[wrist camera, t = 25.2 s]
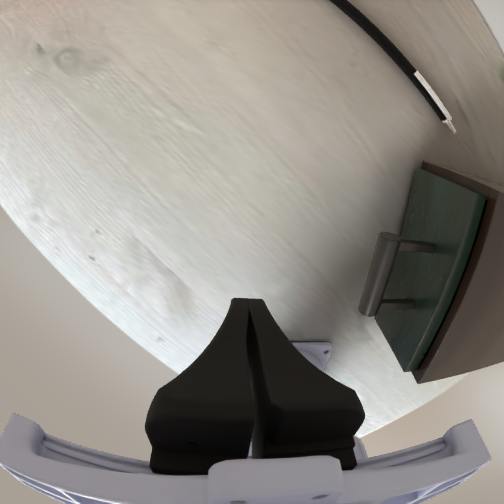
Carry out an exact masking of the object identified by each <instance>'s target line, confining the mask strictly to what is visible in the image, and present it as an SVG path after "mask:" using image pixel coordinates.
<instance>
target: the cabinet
mask: <svg viewBox="0 0 504 504" xmlns="http://www.w3.org/2000/svg"><path fill="white" fill-rule="evenodd" d="M421 169H424V170H428V171H430V172H433V173H435V174H438V175H440V176H442V177H445V178H447V179H450V180H452V181H454V182H457V183H459V184H461V185H463V186H466V187H468V188H470V189H472V190H474V191H476V192H478V193H481V194H483V195H485V196H486V200H488V201H487V205H486V209H485V213H484V216H483V220H482V224H481V227H480V230H479V234H478V237H477V240H476V243H475V246H474V249H473V252H472V255H471V258H470V261H469V264H468V266H467V269H466V272H465V274H464V277H463V280H462V282H461V285H460V287H459V289H458V292H457V294H456V297H455V299H454V301H453V303H452V306H451V308H450V310H449V312H448V314H447V317H446V319H445V321H444V323H443V325H442V327H441V329H440V331H439V333H438V335H437V337H436V339H435V341H434V343H433V345H432V346H431V348H430V350H429V352H428V354H427V352H426V354H425V356H424V357H423V359H422V361H421V363H420V364H419V366H418V368H417V370H416V371H411V372H412V374H413V376H414V378H415V380H416V382H417V384H421V383H425V382H430V381H435V380H439V379H444V378H448V377H452V376H456V375H460V374H464V373H467V372H471V371H474V370H478V369H481V368H485V367H488V366H491V365H494V364H497V363H500V362H503V361H504V186H501V185H499V184H496V183H493V182H491V181H488V180H485V179H482V178H479V177H476V176H473V175H470V174H467V173H464V172H461V171H457V170H454V169H451V168H447V167H444V166H440V165H437V164H433V163H430V162H426V161H423V163H422V168H421Z"/></svg>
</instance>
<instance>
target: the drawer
mask: <svg viewBox="0 0 504 504" xmlns="http://www.w3.org/2000/svg"><path fill="white" fill-rule="evenodd" d="M487 201H488V200H486V196H485V195H483V194H481V193H478V192H476V191H474V190H472V189H470V188H468V187H466V186H463V185H461V184H459V183H457V182H454V181H452V180H450V179H447V178H445V177H442V176H440V175H438V174H435V173H433V172H430V171H428V170H424V169H420V168H415V174H414V179H413V184H412V189H411V194H410V199H409V203H408V207H407V212H406V216H405V220H404V224H403V228H402V232H401V236H400V238H399V237H398V236H397V235H395V234H392V233H388V232H381V233H379V236H378V240H377V244H376V248H375V252H374V256H373V260H372V263H371V267H370V270H369V274H368V277H367V281H366V284H365V287H364V291H363V294H362V297H361V300H360V304H359V307H358V309H359V311H360V313H362V314H363V315H365V316H370V317H372V316H375V320H376V322H377V324H378V326H379V327H380V329H381V331H382V333H383V334H384V336H385V338H386V340H387V342H388V343H389V345H390V347H391V349H392V351H393V352H394V354H395V356H396V358H397V360H398V362H399V364H400V366H401V367H402V369H403V371H404V372H410V371H416V370H417V368H418V366H419V364H420V363H421V361H422V359H423V357H424V356H425V354H426V352H427V354H428V352H429V350H430V348H431V346H432V345H433V343H434V341H435V339H436V337H437V335H438V333H439V331H440V329H441V327H442V325H443V323H444V321H445V319H446V317H447V314H448V312H449V310H450V308H451V306H452V303H453V301H454V299H455V297H456V294H457V292H456V289H457V287H458V284H459V282H460V279H461V277H462V274H463V271H464V269H465V266H466V263H467V260H468V258H469V255H470V252H471V249H472V246H473V243H474V241H475V242H476V240H477V237H478V234H479V230H480V227H481V224H482V220H483V216H484V213H485V209H486V205H487Z"/></svg>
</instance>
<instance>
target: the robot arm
mask: <svg viewBox="0 0 504 504" xmlns="http://www.w3.org/2000/svg"><path fill="white" fill-rule="evenodd" d="M326 350H327V351H326ZM331 350H332V344H331V343H330V342H310V343H291V342H290V341H289V339H288V338H287V337H286V336H285V334H284V333H283V332H282V330H281V329H280V327H279V326H278V325H277V323H276V322H275V320H274V318H273V317H272V315H271V313H270V312H269V310H268V308H267V306H266V304H265V302H264V301H263V300H262V299H248V298H233V299H232V300H231V305H230V308H229V311H228V313H227V315H226V317H225V319H224V321H223V323H222V325H221V327H220V329H219V330H218V332H217V333H216V335H215V336H214V338H213V339H212V341H211V342H210V344H209V345H208V346H207V347H206V349H205V350H204V351H203V352H202V353H201V355H200V356H199V357H198V358H197V359H196V360H195V361H194V362H193V363H192V364H191V365H190V366H189V367H188V368H186V369H185V370H184V371H183V372H182V373H181V374H180V375H178V376H177V377H176V378H175V379H173V380H172V381H170V382H169V383H168V384H166V385H164V386H163V387H161V388H160V389H159V390H158V391H157V393H156V395H155V397H154V399H153V401H152V403H151V405H150V408H149V411H148V414H147V418H146V423H145V431H146V434H147V436H148V438H149V441H150V443H151V445H152V453H151V459H150V462H148V461H142V460H137V459H132V458H127V457H123V456H118V455H113V454H109V453H105V452H102V451H98V450H94V449H91V448H87V447H84V446H81V445H77V444H74V443H71V442H68V441H65V440H62V439H59V438H56V437H53V436H51V435H48V434H46V433H45V432H44V430H43V429H42V428H41V427H40V425H39V424H37V423H36V422H34V421H32V420H30V419H28V418H26V417H23V416H21V415H19V414H16V413H12V415H11V417H10V419H9V421H8V423H7V425H6V427H5V429H4V432H3V434H2V436H1V438H0V465H1V466H2V467H3V468H4V469H5V470H7V471H8V472H9V473H10V474H11V475H13V476H14V477H15V478H17V479H18V480H19V481H20V482H22V483H23V484H25V485H27V486H29V487H30V488H32V489H35V490H37V491H38V492H41V493H43V494H45V495H47V496H49V497H51V498H54V499H56V500H58V501H60V502H62V503H65V504H419V503H421V502H424V501H426V500H428V499H430V498H432V497H435V496H437V495H439V494H441V493H443V492H445V491H448V490H450V489H452V488H453V487H456V486H458V485H459V484H461V483H462V482H464V481H465V480H466V479H468V478H469V477H470V476H472V475H473V474H474V473H476V472H477V471H478V470H479V469H481V468H482V467H483V466H484V465H486V464H487V463H488V462H489V461H490V460H491V456H490V454H489V452H488V450H487V448H486V446H485V444H484V442H483V440H482V438H481V436H480V434H479V432H478V430H477V428H476V426H475V424H474V422H473V421H472V420H471V419H470V420H467V421H465V422H463V423H460V424H457V425H455V426H453V427H452V428H450V429H449V430H448V431H447V432H446V433H445V434H444V436H443V437H441V438H438V439H436V440H433V441H430V442H426V443H423V444H420V445H417V446H414V447H410V448H407V449H403V450H399V451H396V452H392V453H388V454H384V455H380V456H375V457H370V458H368V456H367V453H366V450H365V448H364V445H363V443H362V441H361V439H360V438H358V437H356V436H354V435H355V433H356V432H357V431H358V429H359V428H360V426H361V425H362V423H363V421H364V419H365V412H364V410H363V407H362V404H361V402H360V400H359V398H358V396H357V394H356V392H355V390H353V389H351V388H349V387H347V386H345V385H343V384H341V383H340V382H338V381H336V380H334V379H333V378H331V377H330V376H328V375H327V374H325V373H324V370H325V367H326V365H327V362H328V359H329V356H330V353H331Z"/></svg>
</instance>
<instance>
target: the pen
mask: <svg viewBox="0 0 504 504" xmlns="http://www.w3.org/2000/svg"><path fill="white" fill-rule="evenodd" d="M330 1H331V2H332V3H333V4H335V5H336V6H337V7H338V8H340V9H341V10H342V11H343V12H344V13H345V14H347V15H348V16H349V17H350V18H351V19H352V20H353V21H355V22H356V23H357V24H358V25H359V26H360V27H361V28H362V29H363V30H364V31H365V32H366V33H367V34H368V35H370V36H371V37H372V38H373V39H374V40H375V41H376V42H377V43H378V44H379V45H380V46H381V47H382V49H383V50H384V51H385V52H386V53H387V54H388V55H389V56H390V57H391V58H392V59H393V60H394V61H395V62H396V64H397V65H398V66H399V67H400V68H401V69H402V70H403V72H404V73H405V74H406V75H407V76H408V77H409V79H410V80H411V81H412V82H413V83H414V85H415V86H416V87H417V88H418V90H419V91H420V92H421V93H422V95H423V96H424V97H425V99H426V100H427V101H428V103H429V104H430V105H431V107H432V108H433V109H434V111H435V112H436V114H437V115H438V116H439V118H440V119H441V121H442V122H443V123H447V125H448V126H449V128H450V129H451V131H452V132H453V133H456V132H457V131H456V129H455V128H454V126H453V125H452V123H451V120H452V117H451V115H450V114H449V112H448V111H447V109H446V108H445V106H444V105H443V103H442V102H441V101H440V99H439V98H438V96H437V95H436V94H435V92H434V91H433V90H432V88H431V87H430V86H429V84H428V83H427V82H426V80H425V79H424V78H423V77H422V75H421V74H420V73H419V72H418V70H417V71H416V69H415V68H414V67H413V66H412V65H411V63H410V62H409V61H408V60H407V59H406V58H405V56H404V55H403V54H402V53H401V52H400V51H399V50H398V49H397V48H396V47H395V45H394V44H393V43H392V42H391V41H390V40H389V39H388V38H387V37H386V36H385V35H384V34H383V33H382V32H381V31H380V30H379V29H378V28H377V27H376V26H375V25H374V24H373V23H372V22H371V21H370V20H369V19H368V18H366V17H365V16H364V15H363V14H362V13H361V12H360V11H359V10H358V9H356V8H355V7H354V6H353V5H352V4H351V3H349V2H348V1H347V0H330Z"/></svg>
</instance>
